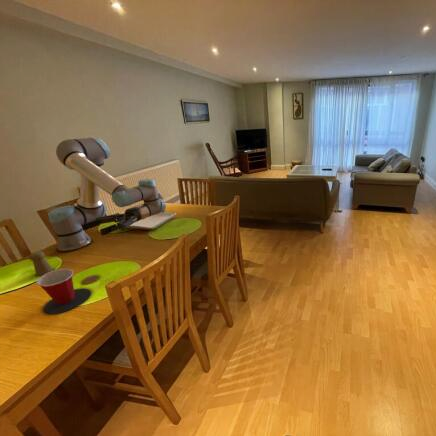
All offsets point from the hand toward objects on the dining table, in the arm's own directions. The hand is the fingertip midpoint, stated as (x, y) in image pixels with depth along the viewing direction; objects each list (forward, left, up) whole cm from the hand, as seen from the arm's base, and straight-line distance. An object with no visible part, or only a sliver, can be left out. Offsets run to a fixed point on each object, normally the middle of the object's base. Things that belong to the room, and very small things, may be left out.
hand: (91, 230), depth 106 cm
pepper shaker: (-32, -11, -24) cm, 42 cm away
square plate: (-38, +51, -24) cm, 68 cm away
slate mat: (+3, -18, -24) cm, 30 cm away
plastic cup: (+2, -18, -24) cm, 30 cm away
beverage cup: (-50, +71, -24) cm, 90 cm away
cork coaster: (-4, -6, -24) cm, 25 cm away
